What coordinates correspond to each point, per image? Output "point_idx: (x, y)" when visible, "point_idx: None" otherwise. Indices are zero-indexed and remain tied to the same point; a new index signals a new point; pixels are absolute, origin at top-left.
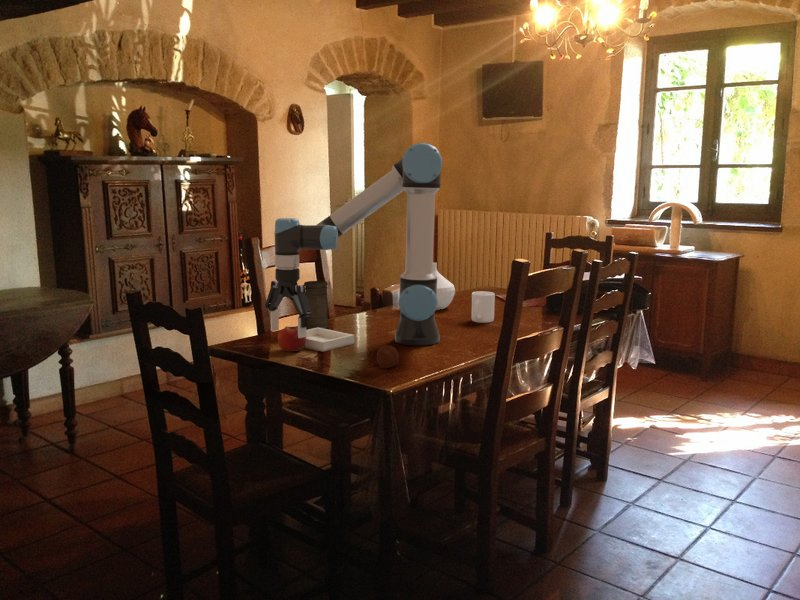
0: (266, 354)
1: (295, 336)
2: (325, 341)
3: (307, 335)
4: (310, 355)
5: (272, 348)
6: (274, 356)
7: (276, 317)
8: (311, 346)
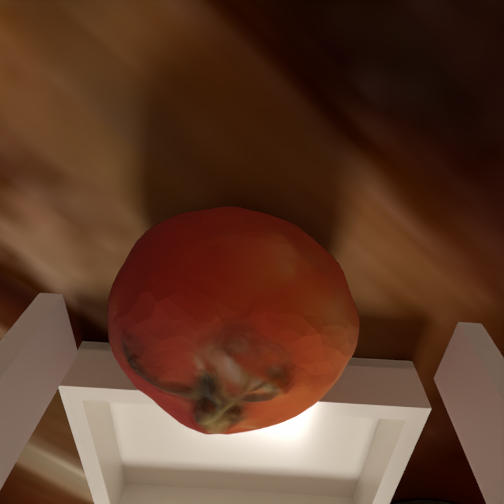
0: (317, 78)
1: (115, 309)
2: (73, 407)
3: (368, 468)
4: (54, 253)
5: (405, 232)
6: (211, 75)
7: (501, 491)
8: None
